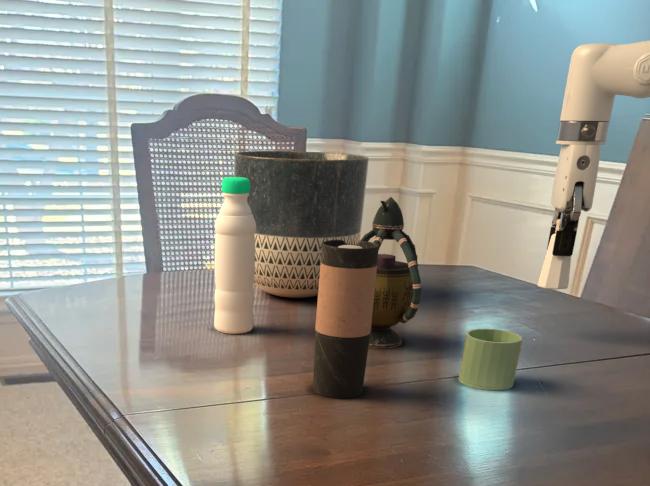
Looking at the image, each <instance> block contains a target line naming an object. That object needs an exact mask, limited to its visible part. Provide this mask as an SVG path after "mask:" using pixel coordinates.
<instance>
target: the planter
mask: <svg viewBox="0 0 650 486" xmlns="http://www.w3.org/2000/svg"><path fill="white" fill-rule="evenodd" d="M233 156H234V157H233V177H243V178H247V179H249V180H250V193H249V196H248V198H247V202H248V205H249V207H250V209H251V214H252V215H253V217H254V220H255V222H256V231H255V233H254V235H255V273H254V284H253V285H255V286H256V287H257V288H259V289H260V290H262V291H263V292H266V293H267V294H269V295H272V296H276V297H279V298H280V297H281V298H287V299H305V298H306V299H307V298H313V297H318V290H319V277H320V265H321V252H322V244H323V242H325V241H329V240H343V241H345V243H347V244H351V245H356V244H357V243H359V242H360V240H361V233H362V224H363V218H364V209H365V208H364V207H365V197H366V189H367V181H368V172H369V157H368V156H364V155H359V154H350V153H337V152H321V151H298V150H297V151H293V150H251V151H250V150H249V151H248V150H247V151H238V152H235V153H234V155H233Z"/></svg>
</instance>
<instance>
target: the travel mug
mask: <svg viewBox="0 0 650 486" xmlns="http://www.w3.org/2000/svg"><path fill="white" fill-rule="evenodd" d="M378 250H379V251H380V248H379V246H378V244H376V243H373V241H368V242H367V241H362V242H360V243H359V244H356V245H351V244H347V243H345V241H343V240H329V241H325V242H323V244H322V252H321V265H320V277H319V290H318V296H317V302H316V303H317V304H316V314H315V315H316V317H315V328H314V329H315V331H314V350H313V351H314V352H313V353H314V354H313V356H314V357H313V377H312V378H313V379H312V387H313V388H312V390H313V391H314V393H316V394H318V395H319V396H321V397H325V398H330V399H331V398H332V399H353V398H356V397H359V396H360V395H361V394H362V393H363V389H364V382H365V375H366V368H367V362H368V361H367V360H368V355H369V348H370V347H369V340H370V332H371V323H372V312H373V302H374V292H375V281H376V271H377V260H378V254H379V251H378Z"/></svg>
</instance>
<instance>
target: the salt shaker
mask: <svg viewBox="0 0 650 486" xmlns="http://www.w3.org/2000/svg"><path fill="white" fill-rule="evenodd" d="M556 224H557V226H556V231H557V230H559V225H560V219H558V220H557V221H556ZM556 231H555V232H556ZM555 236H556V233H555V234H553V235H552V236H551V239H550V242H549V246H548V245H547V246H548V249H547V248H546V254H545V257H544V260H543V264H542V267H541V271H540V273H539V274H540V275H539V279H538V281H537V285H536V286H537V287H539V288H542V289H547V290H567V289H568V287H569V283H570V276H571V275H570V274H571V265H572V264H571V263H572V256H554V255H553V254H552V252H553V247H554V242H555Z"/></svg>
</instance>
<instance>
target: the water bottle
mask: <svg viewBox="0 0 650 486" xmlns="http://www.w3.org/2000/svg"><path fill="white" fill-rule="evenodd" d="M221 192H222V196H223V198H224V199H223V203H222V205H221V206H220V209H219V213H218V215H217V216H216V218H215V221H214V230H215V237H214V238H215V241H214V282H215V289H214V296H213V297H214V300H213V301H214V315H213V318H214V319H213V326H214V329H215V330H216V331H218V332H220V333H223V334H229V335H241V334H247V333H249V332H251V331H252V330H253V328H254V310H253V309H254V305H255V291H254V285H255V284H254V273H255V235H254V233H255V231H256V222H255V220H254V217H253V215H252V214H251V209H250V207H249V205H248V202H247V198H248V196H249V193H250V180H249V179H247V178H243V177H234V176H228V177H223V178H222V181H221Z"/></svg>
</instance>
